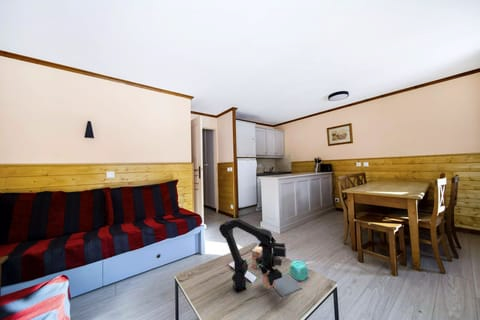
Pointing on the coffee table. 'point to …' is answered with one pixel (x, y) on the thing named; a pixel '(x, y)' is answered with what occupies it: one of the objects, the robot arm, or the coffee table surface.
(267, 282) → the terracotta cube
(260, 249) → the stack of blocks
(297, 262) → the decorative dice
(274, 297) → the coffee table surface
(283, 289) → the slate mat
